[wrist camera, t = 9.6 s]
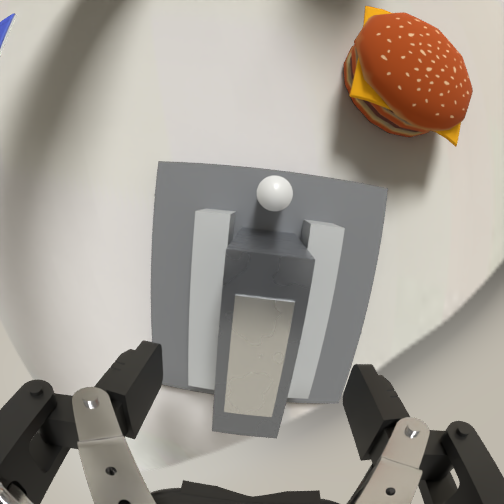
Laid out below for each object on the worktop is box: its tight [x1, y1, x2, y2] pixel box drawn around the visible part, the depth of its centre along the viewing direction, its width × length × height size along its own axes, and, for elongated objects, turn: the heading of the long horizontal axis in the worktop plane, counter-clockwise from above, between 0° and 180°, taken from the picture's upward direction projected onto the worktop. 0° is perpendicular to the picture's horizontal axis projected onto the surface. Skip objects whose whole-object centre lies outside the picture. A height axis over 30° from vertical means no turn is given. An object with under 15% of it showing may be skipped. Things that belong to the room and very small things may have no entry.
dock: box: [151, 161, 388, 403], centre depth 18 cm, size 18×16×6 cm
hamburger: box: [344, 6, 473, 146], centre depth 15 cm, size 9×10×7 cm
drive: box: [212, 227, 315, 438], centre depth 16 cm, size 10×4×8 cm, turn 173°
